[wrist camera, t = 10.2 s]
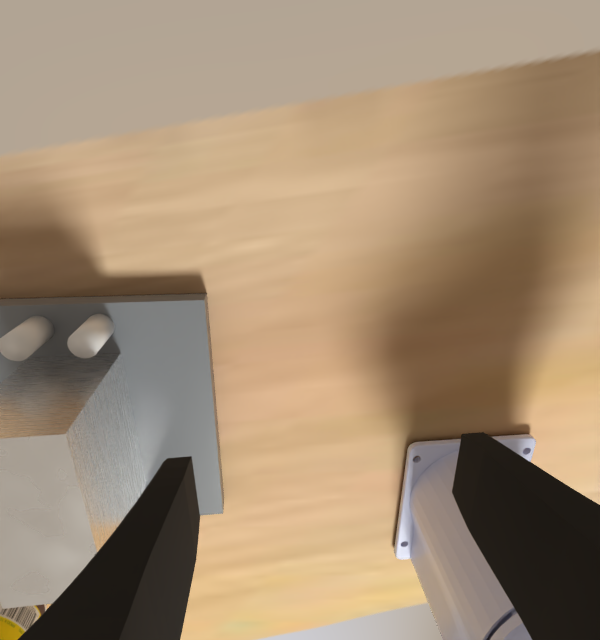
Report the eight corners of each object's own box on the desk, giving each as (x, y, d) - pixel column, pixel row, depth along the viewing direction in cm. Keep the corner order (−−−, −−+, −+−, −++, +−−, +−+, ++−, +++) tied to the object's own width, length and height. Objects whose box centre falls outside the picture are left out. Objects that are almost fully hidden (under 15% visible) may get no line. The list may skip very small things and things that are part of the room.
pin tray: (224, 499, 24) (220, 544, 21) (10, 517, 22) (-25, 567, 20) (206, 293, 19) (198, 315, 16) (-68, 300, 18) (-127, 326, 15)
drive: (146, 484, 21) (109, 596, 16) (68, 491, 21) (2, 608, 16) (120, 352, 18) (64, 434, 13) (29, 356, 18) (-69, 443, 13)
